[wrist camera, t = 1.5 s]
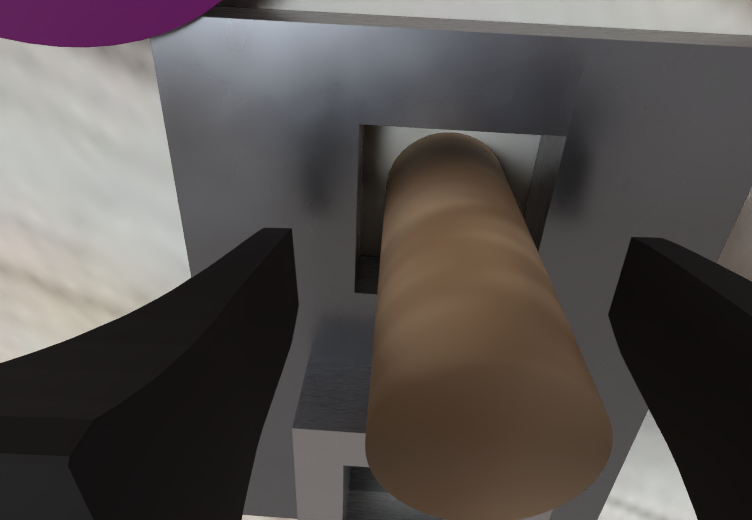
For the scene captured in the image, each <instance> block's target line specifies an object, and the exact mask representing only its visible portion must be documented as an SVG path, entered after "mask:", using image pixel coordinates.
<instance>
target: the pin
mask: <svg viewBox="0 0 752 520" xmlns="http://www.w3.org/2000/svg"><path fill="white" fill-rule="evenodd" d="M612 444H613V433H612V426H611V423H610V419H609V417H608V414H607V412H606V410H605V407H604V405H603V403H602V400H601V398H600V396H599V393H598V391H597V389H596V386H595V384H594V382H593V379H592V377H591V374H590V372H589V370H588V367H587V365H586V363H585V360H584V358H583V356H582V353H581V351H580V349H579V346H578V344H577V342H576V339H575V337H574V335H573V332H572V330H571V328H570V325H569V323H568V321H567V318H566V316H565V314H564V311H563V309H562V307H561V304H560V302H559V300H558V297H557V295H556V293H555V290H554V288H553V286H552V283H551V281H550V279H549V276H548V274H547V272H546V269H545V267H544V265H543V262H542V260H541V258H540V255H539V253H538V251H537V248H536V246H535V244H534V241H533V239H532V237H531V234H530V232H529V230H528V227H527V225H526V223H525V220H524V218H523V216H522V213H521V211H520V209H519V206H518V204H517V202H516V199H515V197H514V195H513V192H512V190H511V188H510V185H509V183H508V181H507V178H506V176H505V174H504V171H503V169H502V167H501V165H500V163H499V161H498V159H497V157H496V156H495V155H494V153H493V152H492V151H491V150H490V149H489V148H488V147H487V146H486V145H484V144H483V143H482V142H480V141H478V140H477V139H475V138H472V137H470V136H467V135H463V134H458V133H439V134H433V135H430V136H426V137H424V138H422V139H419V140H418V141H416V142H414V143H412V144H411V145H410V146H408V147H407V148H406V149H405V150H404V151H403V152H402V153H401V154H400V155H399V156H398V157H397V159H396V160H395V162H394V163H393V165H392V167H391V169H390V172H389V175H388V179H387V185H386V196H385V208H384V220H383V232H382V244H381V256H380V268H379V281H378V293H377V305H376V317H375V329H374V341H373V353H372V365H371V377H370V389H369V401H368V413H367V425H366V437H365V454H366V458H367V462H368V465H369V467H370V469H371V472H372V474H373V475H374V477H375V478H376V480H377V481H378V482H379V483H380V485H381V486H382V487H383V488H384V489H385V490H386V491H387V492H388V493H390V494H391V495H392V496H393V497H394V498H396V499H397V500H399V501H401V502H402V503H404V504H405V505H407V506H409V507H411V508H413V509H415V510H418V511H420V512H423V513H425V514H428V515H431V516H435V517H438V518H442V519H447V520H519V519H524V518H528V517H532V516H536V515H539V514H542V513H545V512H547V511H550V510H553V509H555V508H557V507H559V506H561V505H563V504H565V503H567V502H569V501H570V500H572V499H573V498H575V497H577V496H578V495H579V494H581V493H582V492H583V491H585V490H586V489H587V488H588V487H589V486H590V485H591V484H592V483H593V482H594V481H595V480H596V479H597V478H598V476H599V475H600V474H601V472H602V471H603V469H604V468H605V466H606V464H607V462H608V460H609V457H610V454H611V451H612Z"/></svg>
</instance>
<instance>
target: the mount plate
mask: <svg viewBox="0 0 752 520" xmlns="http://www.w3.org/2000/svg"><path fill="white" fill-rule="evenodd" d="M150 42H151V47H152V53H153V59H154V65H155V70H156V76H157V82H158V88H159V93H160V99H161V105H162V111H163V116H164V122H165V128H166V134H167V140H168V145H169V151H170V157H171V163H172V168H173V174H174V180H175V186H176V191H177V197H178V203H179V209H180V214H181V220H182V226H183V232H184V237H185V243H186V249H187V255H188V260H189V266H190V272H191V278H192V277H194V276H195V275H197V274H198V273H200V272H201V271H203V270H204V269H206V268H207V267H209V266H210V265H212V264H213V263H215V262H216V261H217V260H219V259H220V258H222V257H223V256H224V255H226V254H227V253H228V252H230V251H231V250H233V249H234V248H235V247H237V246H238V245H239V244H241V243H242V242H244V241H245V240H246V239H248V238H249V237H250V236H252V235H253V234H255V233H256V232H258V231H259V230H261V229H262V228H292V235H293V246H294V257H295V267H296V278H297V289H298V300H299V308H298V313H297V319H296V325H295V330H294V335H293V340H292V344H291V347H290V350H289V353H288V356H287V359H286V362H285V365H284V368H283V371H282V374H281V377H280V380H279V383H278V386H277V388H276V391H275V394H274V397H273V400H272V403H271V406H270V409H269V412H268V415H267V418H266V421H265V423H264V426H263V430H262V433H261V436H260V440H259V443H258V447H257V451H256V455H255V460H254V464H253V469H252V473H251V478H250V482H249V486H248V491H247V496H246V500H245V505H244V510H243V515H254V516H268V517H281V518H294V519H298V520H447V519H442V518H438V517H435V516H431V515H428V514H425V513H423V512H420V511H418V510H415V509H413V508H411V507H409V506H407V505H405V504H404V503H402V502H401V501H399V500H397V499H396V498H394V497H393V496H392V495H391V494H390V493H388V492H387V491H386V490H385V489H384V488H383V487H382V486H381V485H380V483H379V482H378V481H377V480H376V478H375V477H374V475H373V474H372V472H371V469H370V467H369V465H368V462H367V458H366V454H365V437H366V425H367V413H368V401H369V389H370V377H371V365H372V353H373V341H374V329H375V317H376V305H377V293H378V281H379V268H380V258H379V257H364V256H360V236H361V205H362V174H363V144H364V125H380V126H396V127H413V128H430V129H447V130H464V131H481V132H498V133H515V134H532V135H542V136H541V140H540V145H539V149H538V154H537V159H536V163H535V168H534V172H533V177H532V181H531V186H530V191H529V195H528V200H527V204H526V209H525V214H524V220H525V223H526V225H527V227H528V230H529V232H530V234H531V237H532V239H533V241H534V244H535V246H536V248H537V251H538V253H539V255H540V258H541V260H542V262H543V265H544V267H545V269H546V272H547V274H548V276H549V279H550V281H551V283H552V286H553V288H554V290H555V293H556V295H557V297H558V300H559V302H560V304H561V307H562V309H563V311H564V314H565V316H566V318H567V321H568V323H569V325H570V328H571V330H572V332H573V335H574V337H575V339H576V342H577V344H578V346H579V349H580V351H581V353H582V356H583V358H584V360H585V363H586V365H587V367H588V370H589V372H590V374H591V377H592V379H593V382H594V384H595V386H596V389H597V391H598V393H599V396H600V398H601V400H602V403H603V405H604V407H605V410H606V412H607V414H608V417H609V419H610V423H611V426H612V433H613V444H612V451H611V454H610V457H609V460H608V462H607V464H606V466H605V468H604V469H603V471H602V472H601V474H600V475H599V476H598V478H597V479H596V480H595V481H594V482H593V483H592V484H591V485H590V486H589V487H588V488H587V489H586V490H585V491H583V492H582V493H581V494H579V495H578V496H577V497H575V498H573V499H572V500H570V501H569V502H567V503H565V504H563V505H561V506H559V507H557V508H555V509H553V510H550V511H547V512H545V513H542V514H539V515H536V516H532V517H528V518H524V519H519V520H597V519H598V517H599V515H600V513H601V511H602V508H603V506H604V504H605V502H606V500H607V498H608V495H609V493H610V491H611V489H612V487H613V485H614V483H615V480H616V478H617V476H618V474H619V472H620V470H621V467H622V465H623V463H624V461H625V459H626V457H627V454H628V452H629V450H630V448H631V446H632V444H633V441H634V439H635V437H636V435H637V433H638V431H639V429H640V426H641V424H642V422H643V420H644V418H645V416H646V413H647V411H648V409H649V408H648V406H647V404H646V402H645V401H644V399H643V397H642V395H641V393H640V391H639V389H638V387H637V385H636V383H635V381H634V379H633V377H632V375H631V373H630V371H629V370H628V368H627V366H626V364H625V362H624V359H623V357H622V355H621V353H620V350H619V347H618V345H617V342H616V339H615V336H614V333H613V330H612V326H611V323H610V320H609V317H608V313H609V310H610V306H611V303H612V300H613V296H614V293H615V290H616V286H617V283H618V280H619V276H620V273H621V270H622V266H623V263H624V260H625V256H626V253H627V250H628V246H629V243H630V240H631V237H654V238H663V239H666V240H669V241H671V242H674V243H676V244H678V245H681V246H683V247H685V248H687V249H689V250H691V251H693V252H695V253H697V254H699V255H701V256H703V257H705V258H707V259H709V260H711V261H713V262H715V263H716V262H717V260H718V258H719V256H720V254H721V251H722V249H723V247H724V245H725V243H726V241H727V238H728V236H729V234H730V232H731V230H732V228H733V225H734V223H735V221H736V219H737V217H738V215H739V212H740V210H741V208H742V206H743V204H744V202H745V200H746V197H747V195H748V193H749V191H750V189H751V187H752V36H748V35H730V34H711V33H693V32H675V31H657V30H638V29H620V28H602V27H584V26H565V25H547V24H529V23H511V22H493V21H474V20H456V19H438V18H420V17H401V16H383V15H365V14H347V13H328V12H310V11H292V10H274V9H256V8H237V7H219V6H214V7H212V8H211V9H210V10H208V11H207V12H205V13H204V14H202V15H200V16H198V17H197V18H195V19H193V20H192V21H190V22H188V23H186V24H184V25H182V26H180V27H177V28H175V29H173V30H170V31H168V32H166V33H163V34H160V35H157V36H153V37H150Z"/></svg>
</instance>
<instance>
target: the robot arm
mask: <svg viewBox="0 0 752 520" xmlns="http://www.w3.org/2000/svg"><path fill="white" fill-rule="evenodd" d="M298 308H299V300H298V289H297V278H296V267H295V257H294V246H293V235H292V228H262V229H261V230H259V231H258V232H256V233H255V234H253V235H252V236H250V237H249V238H248V239H246V240H245V241H244V242H242V243H241V244H239V245H238V246H237V247H235V248H234V249H233V250H231V251H230V252H228V253H227V254H226V255H224V256H223V257H222V258H220V259H219V260H217V261H216V262H215V263H213V264H212V265H210V266H209V267H207V268H206V269H204V270H203V271H201V272H200V273H198V274H197V275H195V276H194V277H192V278H190V279H189V280H187V281H186V282H184V283H183V284H181V285H179V286H178V287H176V288H175V289H173V290H172V291H170V292H168V293H166V294H165V295H163V296H161V297H159V298H158V299H156V300H154V301H152V302H150V303H148V304H146V305H145V306H143V307H141V308H139V309H137V310H135V311H133V312H131V313H129V314H127V315H125V316H123V317H121V318H119V319H116V320H114V321H111V322H109V323H107V324H104V325H102V326H100V327H97V328H95V329H93V330H90V331H88V332H86V333H83V334H81V335H79V336H76V337H74V338H72V339H69V340H66V341H64V342H61V343H58V344H56V345H53V346H50V347H47V348H45V349H42V350H39V351H36V352H33V353H30V354H27V355H24V356H21V357H18V358H15V359H12V360H9V361H6V362H3V363H0V520H242V515H243V510H244V505H245V500H246V496H247V491H248V486H249V482H250V478H251V473H252V469H253V464H254V460H255V455H256V451H257V447H258V443H259V440H260V436H261V433H262V430H263V426H264V423H265V421H266V418H267V415H268V412H269V409H270V406H271V403H272V400H273V397H274V394H275V391H276V388H277V386H278V383H279V380H280V377H281V374H282V371H283V368H284V365H285V362H286V359H287V356H288V353H289V350H290V347H291V344H292V340H293V335H294V330H295V325H296V319H297V313H298ZM608 317H609V320H610V323H611V326H612V330H613V333H614V336H615V339H616V342H617V345H618V347H619V350H620V353H621V355H622V357H623V359H624V362H625V364H626V366H627V368H628V370H629V371H630V373H631V375H632V377H633V379H634V381H635V383H636V385H637V387H638V389H639V391H640V393H641V395H642V397H643V399H644V401H645V402H646V404H647V406H648V408H649V410H650V412H651V414H652V416H653V418H654V420H655V422H656V424H657V425H658V427H659V429H660V431H661V433H662V435H663V437H664V439H665V441H666V443H667V445H668V447H669V449H670V451H671V453H672V455H673V458H674V460H675V462H676V464H677V466H678V469H679V472H680V474H681V477H682V479H683V482H684V484H685V487H686V490H687V492H688V495H689V497H690V500H691V503H692V505H693V508H694V510H695V513H696V516H697V519H698V520H752V282H751V281H749V280H747V279H745V278H744V277H742V276H740V275H738V274H736V273H734V272H732V271H730V270H728V269H726V268H724V267H722V266H720V265H718V264H717V263H715V262H713V261H711V260H709V259H707V258H705V257H703V256H701V255H699V254H697V253H695V252H693V251H691V250H689V249H687V248H685V247H683V246H681V245H678V244H676V243H674V242H671V241H669V240H666V239H663V238H654V237H631V240H630V243H629V246H628V250H627V253H626V256H625V260H624V263H623V266H622V270H621V273H620V276H619V280H618V283H617V286H616V290H615V293H614V296H613V300H612V303H611V306H610V310H609V313H608Z"/></svg>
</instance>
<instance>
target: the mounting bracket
mask: <svg viewBox="0 0 752 520" xmlns="http://www.w3.org/2000/svg"><path fill="white" fill-rule="evenodd" d="M220 1H222V0H0V38H5V39H10V40H15V41H20V42H25V43H31V44H40V45H48V46H57V47H98V46H111V45H118V44H124V43H129V42H135V41H140V40H143V39H147V38H150V37H153V36H157V35H160V34H163V33H166V32H168V31H170V30H173V29H175V28H177V27H180V26H182V25H184V24H186V23H188V22H190V21H192V20H193V19H195V18H197V17H198V16H200V15H202V14H204V13H205V12H207V11H208V10H210V9H211V8H212V7H214V6H215V5H216V4H218V3H219V2H220Z"/></svg>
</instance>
